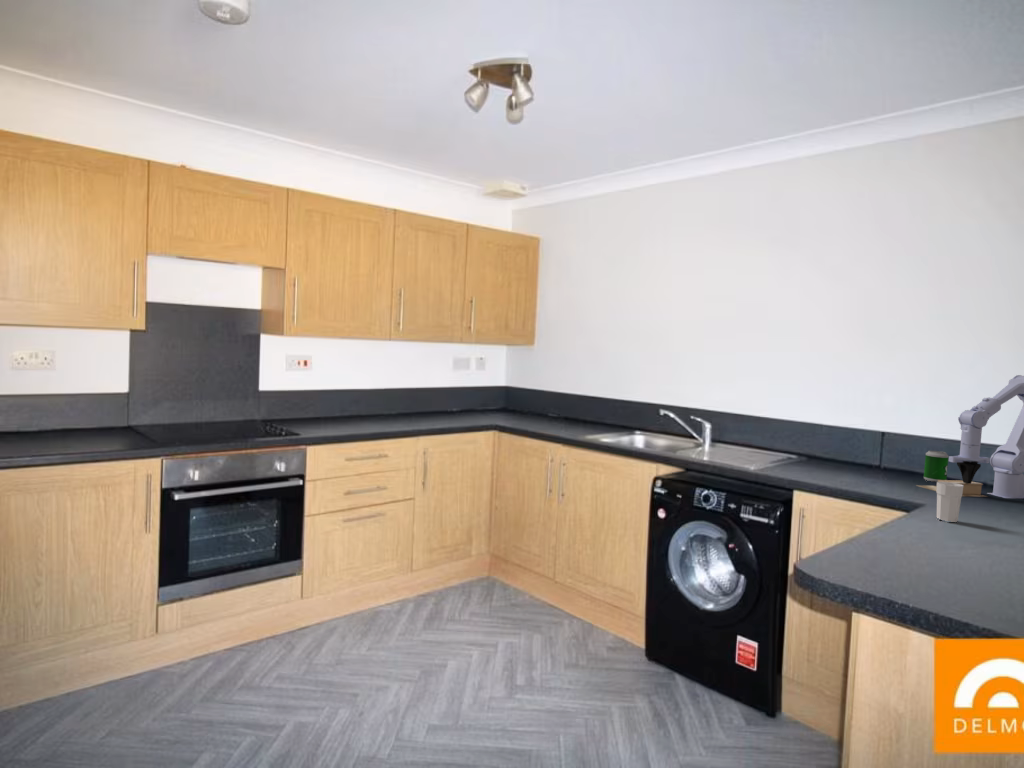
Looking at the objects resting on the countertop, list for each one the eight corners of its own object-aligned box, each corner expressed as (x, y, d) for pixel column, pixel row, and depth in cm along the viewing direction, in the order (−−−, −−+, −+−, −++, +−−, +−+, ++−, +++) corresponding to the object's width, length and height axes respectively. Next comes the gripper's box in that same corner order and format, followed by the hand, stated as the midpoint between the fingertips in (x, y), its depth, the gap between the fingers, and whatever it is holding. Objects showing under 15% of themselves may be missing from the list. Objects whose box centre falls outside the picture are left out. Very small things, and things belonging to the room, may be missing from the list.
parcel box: (966, 491, 237) (967, 481, 237) (980, 495, 231) (981, 485, 231) (937, 490, 235) (937, 481, 235) (950, 494, 229) (951, 484, 229)
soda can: (942, 484, 251) (945, 453, 250) (920, 481, 256) (923, 450, 256) (948, 482, 256) (951, 452, 255) (927, 479, 261) (929, 449, 261)
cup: (948, 524, 188) (951, 486, 188) (928, 518, 195) (931, 481, 194) (966, 523, 190) (969, 486, 190) (945, 517, 197) (948, 481, 196)
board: (948, 487, 246) (948, 485, 246) (988, 498, 229) (988, 496, 229) (915, 487, 244) (915, 485, 244) (953, 497, 227) (953, 496, 227)
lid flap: (967, 481, 237) (968, 480, 237) (982, 484, 230) (982, 483, 230) (937, 481, 235) (937, 479, 235) (951, 484, 228) (951, 483, 228)
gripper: (978, 443, 234) (975, 480, 235) (943, 442, 232) (939, 480, 232) (996, 446, 227) (992, 485, 228) (959, 445, 225) (956, 484, 225)
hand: (967, 482), depth 230 cm, fingers closed
